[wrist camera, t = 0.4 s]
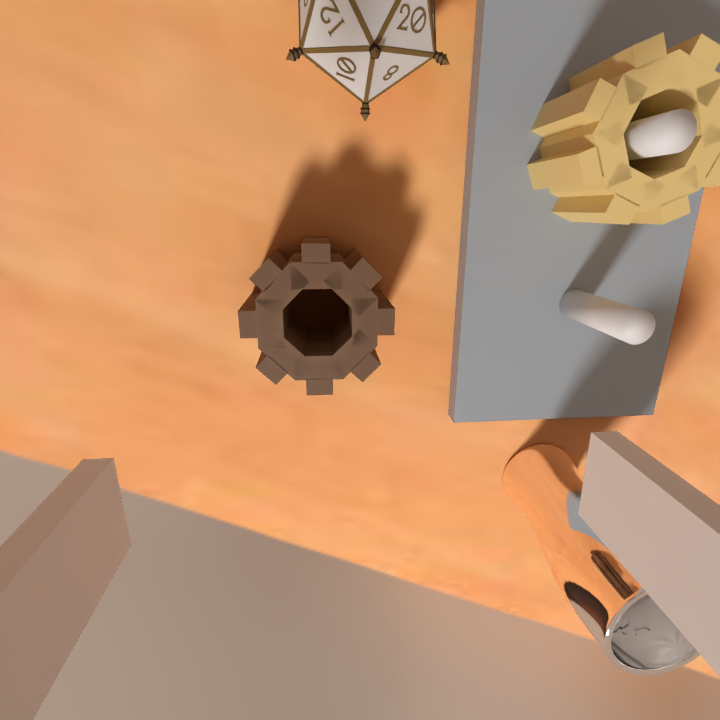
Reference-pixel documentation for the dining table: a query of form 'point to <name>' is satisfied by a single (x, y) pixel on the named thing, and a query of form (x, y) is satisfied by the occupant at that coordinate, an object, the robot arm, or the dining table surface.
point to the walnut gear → (326, 347)
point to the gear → (607, 126)
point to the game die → (367, 42)
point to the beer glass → (591, 566)
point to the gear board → (562, 225)
